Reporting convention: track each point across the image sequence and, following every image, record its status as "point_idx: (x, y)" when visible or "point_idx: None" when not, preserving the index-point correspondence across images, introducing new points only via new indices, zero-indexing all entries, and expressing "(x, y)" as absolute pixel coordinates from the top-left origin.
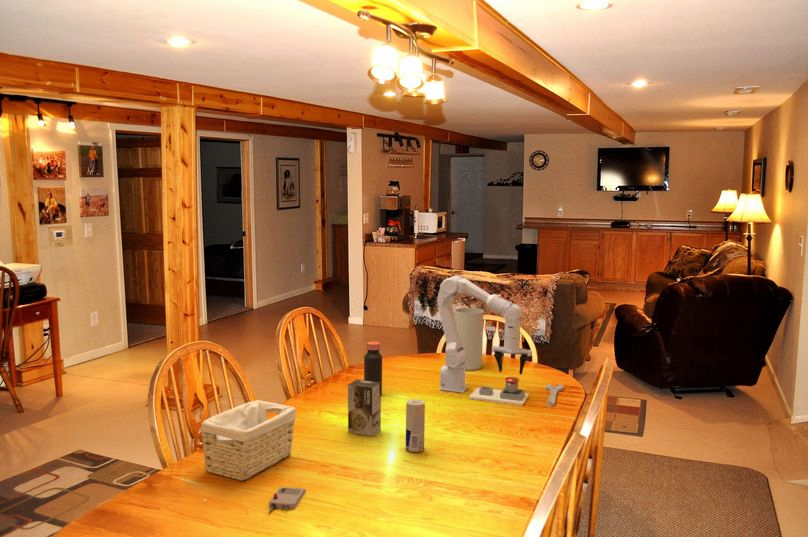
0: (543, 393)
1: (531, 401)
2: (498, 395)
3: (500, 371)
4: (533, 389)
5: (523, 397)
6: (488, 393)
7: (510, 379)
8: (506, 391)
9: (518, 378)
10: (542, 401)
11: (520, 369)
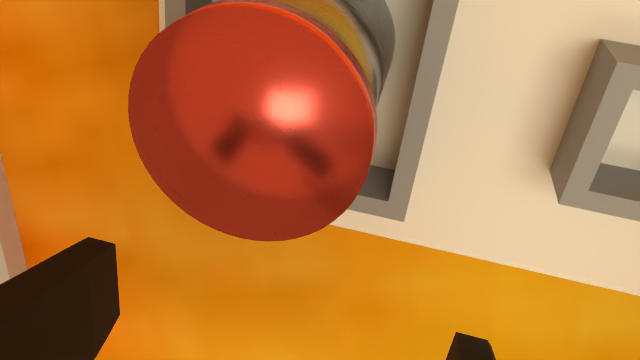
0: None
1: (115, 15)
2: (483, 71)
3: (465, 340)
4: (170, 338)
5: None
6: (634, 53)
7: (268, 84)
8: (372, 17)
9: (146, 167)
10: (21, 39)
11: (29, 285)
